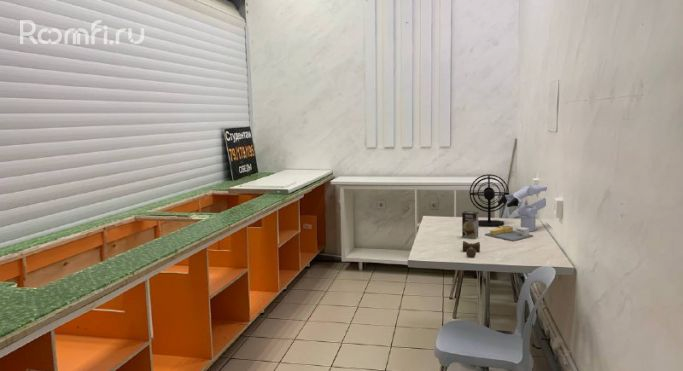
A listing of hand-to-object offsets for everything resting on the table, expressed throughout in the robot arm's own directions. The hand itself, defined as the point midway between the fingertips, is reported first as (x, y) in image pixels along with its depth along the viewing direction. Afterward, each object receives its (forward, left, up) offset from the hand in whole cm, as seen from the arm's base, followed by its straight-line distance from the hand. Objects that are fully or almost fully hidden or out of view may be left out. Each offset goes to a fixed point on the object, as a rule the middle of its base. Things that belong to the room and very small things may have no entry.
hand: (502, 204), depth 318 cm
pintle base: (0, +4, -20) cm, 20 cm away
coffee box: (+19, -10, -20) cm, 29 cm away
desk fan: (-19, -27, -20) cm, 38 cm away
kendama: (+46, +15, -20) cm, 53 cm away
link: (0, -2, -19) cm, 19 cm away
